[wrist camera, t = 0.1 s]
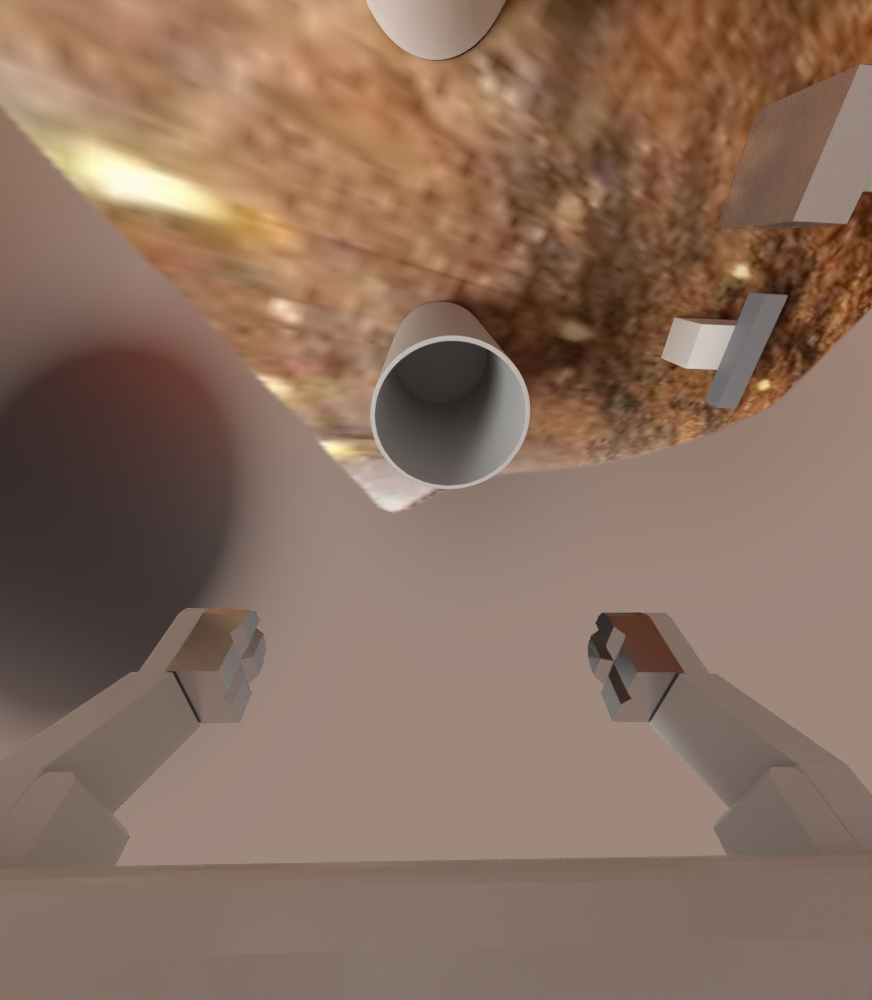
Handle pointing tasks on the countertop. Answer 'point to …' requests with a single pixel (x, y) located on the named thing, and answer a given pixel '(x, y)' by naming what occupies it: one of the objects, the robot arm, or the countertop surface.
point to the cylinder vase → (448, 400)
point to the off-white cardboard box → (698, 342)
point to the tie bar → (745, 348)
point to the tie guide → (805, 157)
